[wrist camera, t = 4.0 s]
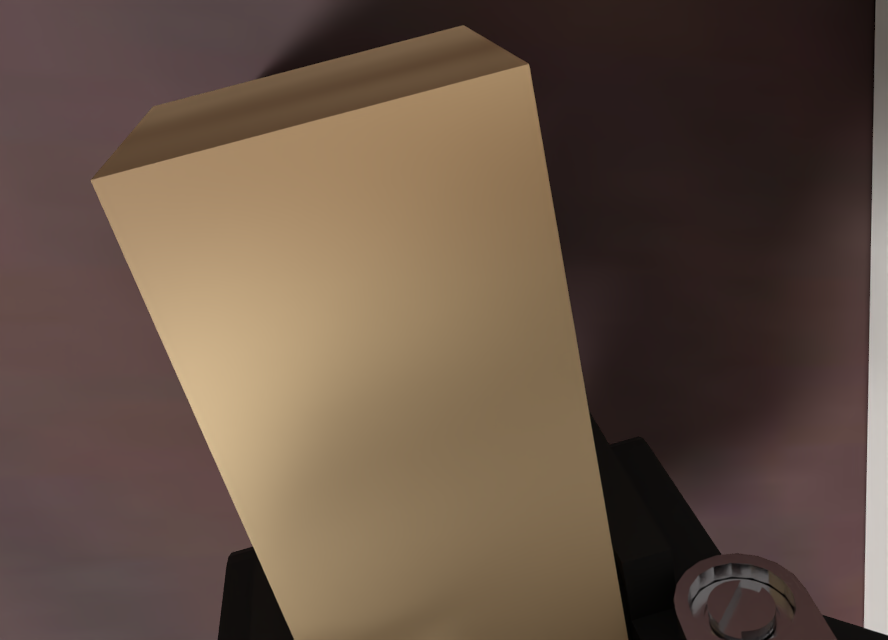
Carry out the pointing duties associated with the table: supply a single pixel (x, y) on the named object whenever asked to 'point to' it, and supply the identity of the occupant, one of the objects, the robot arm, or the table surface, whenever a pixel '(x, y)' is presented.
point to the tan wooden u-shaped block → (379, 340)
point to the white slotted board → (878, 349)
